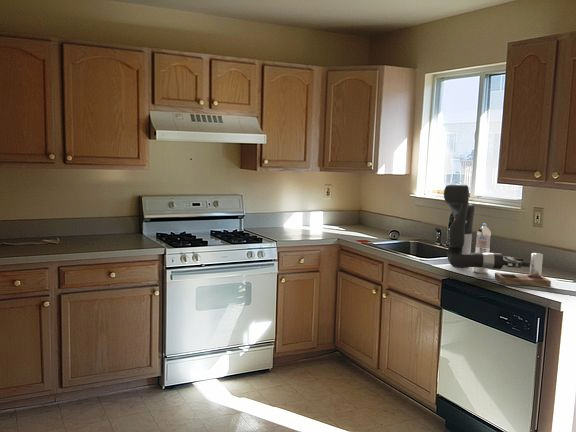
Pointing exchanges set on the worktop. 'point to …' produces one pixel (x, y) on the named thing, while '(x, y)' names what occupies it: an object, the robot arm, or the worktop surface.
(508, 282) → the wooden tray
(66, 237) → the worktop surface
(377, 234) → the worktop surface
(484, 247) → the water bottle
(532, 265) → the peg
